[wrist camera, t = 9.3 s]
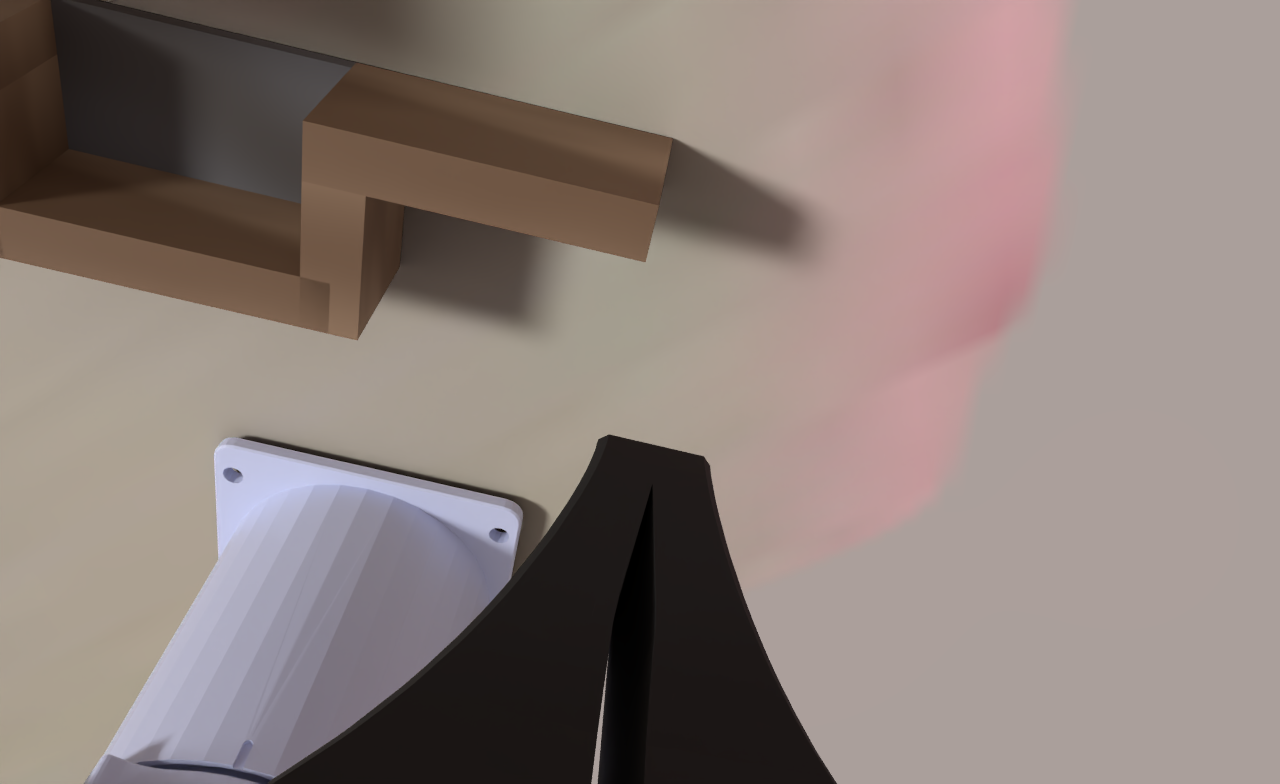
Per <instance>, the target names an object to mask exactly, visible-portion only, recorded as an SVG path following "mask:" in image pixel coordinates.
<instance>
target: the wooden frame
mask: <svg viewBox="0 0 1280 784" xmlns="http://www.w3.org/2000/svg"><path fill="white" fill-rule="evenodd" d="M672 141H673V138H668V137H664V136H660V135H656V134H652V133H648V132H643V131H639V130H635V129H631V128H627V127H623V126H618V125H614V124H610V123H606V122H602V121H598V120H593V119H589V118H585V117H581V116H577V115H573V114H569V113H564V112H560V111H556V110H552V109H548V108H544V107H539V106H535V105H531V104H527V103H523V102H519V101H514V100H510V99H506V98H502V97H498V96H494V95H490V94H485V93H481V92H477V91H473V90H469V89H465V88H460V87H456V86H452V85H448V84H444V83H440V82H435V81H431V80H427V79H423V78H419V77H415V76H410V75H406V74H402V73H398V72H394V71H390V70H386V69H381V68H377V67H373V66H369V65H365V64H361V63H356V62H352V61H348V60H344V59H340V58H336V57H331V56H327V55H323V54H319V53H315V52H311V51H306V50H302V49H298V48H294V47H290V46H286V45H282V44H277V43H273V42H269V41H265V40H261V39H257V38H252V37H248V36H244V35H240V34H236V33H232V32H227V31H223V30H219V29H215V28H211V27H207V26H202V25H198V24H194V23H190V22H186V21H182V20H178V19H173V18H169V17H165V16H161V15H157V14H153V13H148V12H144V11H140V10H136V9H132V8H128V7H123V6H119V5H115V4H111V3H107V2H103V1H98V0H0V258H4V259H8V260H13V261H17V262H21V263H26V264H30V265H34V266H39V267H43V268H47V269H51V270H56V271H60V272H64V273H69V274H73V275H77V276H82V277H86V278H90V279H95V280H99V281H103V282H108V283H112V284H116V285H121V286H125V287H129V288H134V289H138V290H142V291H147V292H151V293H155V294H160V295H164V296H168V297H172V298H177V299H181V300H185V301H190V302H194V303H198V304H203V305H207V306H211V307H216V308H220V309H224V310H229V311H233V312H237V313H242V314H246V315H250V316H255V317H259V318H263V319H268V320H272V321H276V322H281V323H285V324H289V325H293V326H298V327H302V328H306V329H311V330H315V331H319V332H324V333H328V334H332V335H337V336H341V337H345V338H350V339H354V340H358V338H359V337H360V335H361V333H362V331H363V330H364V328H365V326H366V324H367V323H368V321H369V319H370V318H371V316H372V314H373V312H374V311H375V309H376V307H377V305H378V304H379V302H380V300H381V298H382V297H383V295H384V293H385V292H386V290H387V288H388V286H389V285H390V283H391V281H392V279H393V278H394V276H395V274H396V272H397V271H398V269H399V267H400V256H401V244H402V232H403V220H404V208H405V206H410V207H414V208H418V209H422V210H426V211H431V212H435V213H439V214H443V215H448V216H452V217H456V218H460V219H465V220H469V221H473V222H477V223H482V224H486V225H490V226H494V227H498V228H503V229H507V230H511V231H515V232H520V233H524V234H528V235H532V236H537V237H541V238H545V239H549V240H554V241H558V242H562V243H566V244H570V245H575V246H579V247H583V248H587V249H592V250H596V251H600V252H604V253H609V254H613V255H617V256H621V257H625V258H630V259H634V260H638V261H642V262H646V258H647V254H648V249H649V245H650V241H651V237H652V233H653V229H654V224H655V220H656V216H657V212H658V208H659V203H660V199H661V194H662V189H663V184H664V179H665V175H666V170H667V165H668V160H669V155H670V151H671V146H672Z"/></svg>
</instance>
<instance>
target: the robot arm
mask: <svg viewBox="0 0 1280 784" xmlns="http://www.w3.org/2000/svg"><path fill="white" fill-rule="evenodd" d="M214 465H215V488H216V511H217V534H218V557H219V560H218V561H217V563H216V565H215V566H214V568H213V570H212V571H211V573H210V575H209V577H208V578H207V580H206V582H205V583H204V585H203V587H202V588H201V590H200V592H199V594H198V595H197V597H196V599H195V600H194V602H193V604H192V605H191V607H190V609H189V610H188V612H187V614H186V616H185V617H184V619H183V621H182V622H181V624H180V626H179V627H178V629H177V631H176V633H175V634H174V636H173V638H172V639H171V641H170V643H169V644H168V646H167V648H166V650H165V651H164V653H163V655H162V656H161V658H160V660H159V661H158V663H157V665H156V666H155V668H154V670H153V672H152V673H151V675H150V677H149V678H148V680H147V682H146V683H145V685H144V687H143V689H142V690H141V692H140V694H139V695H138V697H137V699H136V700H135V702H134V704H133V706H132V707H131V709H130V711H129V712H128V714H127V716H126V717H125V719H124V721H123V722H122V724H121V726H120V728H119V729H118V731H117V733H116V734H115V736H114V738H113V739H112V741H111V743H110V745H109V746H108V748H107V750H106V751H105V753H104V755H103V756H102V757H101V759H100V760H99V762H98V763H97V764H96V766H95V767H94V769H93V770H92V772H91V773H90V775H89V776H88V778H87V779H86V781H85V782H84V784H591V780H592V773H593V765H594V756H595V748H596V739H597V732H598V725H599V717H600V710H601V703H602V696H603V687H604V681H605V674H606V667H607V678H606V690H605V702H604V715H603V726H602V739H601V751H600V762H599V775H598V784H837V783H836V782H835V780H834V778H833V777H832V775H831V774H830V772H829V771H828V769H827V768H826V766H825V764H824V763H823V761H822V760H821V758H820V757H819V755H818V753H817V752H816V750H815V748H814V746H813V745H812V743H811V741H810V739H809V737H808V736H807V734H806V732H805V730H804V728H803V726H802V725H801V723H800V721H799V719H798V718H797V716H796V714H795V712H794V710H793V708H792V706H791V704H790V702H789V700H788V698H787V696H786V694H785V692H784V690H783V688H782V686H781V684H780V682H779V680H778V678H777V676H776V674H775V672H774V669H773V667H772V665H771V663H770V660H769V658H768V656H767V654H766V651H765V649H764V647H763V644H762V642H761V640H760V637H759V635H758V632H757V630H756V627H755V625H754V622H753V620H752V618H751V615H750V612H749V610H748V607H747V604H746V601H745V599H744V596H743V593H742V590H741V587H740V584H739V581H738V578H737V575H736V572H735V569H734V566H733V563H732V560H731V557H730V554H729V550H728V547H727V543H726V540H725V536H724V533H723V529H722V525H721V521H720V517H719V513H718V509H717V505H716V500H715V495H714V490H713V485H712V479H711V472H710V465H709V464H708V462H707V461H706V459H705V458H704V456H699V455H695V454H691V453H687V452H682V451H678V450H674V449H669V448H665V447H661V446H656V445H652V444H648V443H643V442H639V441H635V440H630V439H626V438H622V437H617V436H613V435H607V436H605V437H603V438H600V439H598V442H597V446H596V449H595V452H594V455H593V457H592V459H591V461H590V464H589V466H588V468H587V470H586V472H585V474H584V476H583V477H582V479H581V481H580V483H579V485H578V486H577V488H576V490H575V491H574V493H573V495H572V496H571V498H570V500H569V501H568V503H567V504H566V506H565V507H564V509H563V510H562V512H561V513H560V515H559V516H558V517H557V519H556V520H555V522H554V523H553V525H552V526H551V528H550V529H549V531H548V532H547V533H546V535H545V536H544V538H543V539H542V540H541V542H540V543H539V544H538V546H537V547H536V548H535V550H534V551H533V552H532V553H531V555H530V556H529V557H528V558H527V559H526V561H525V562H524V563H523V564H522V566H521V567H520V568H519V569H518V571H517V572H516V573H515V574H514V576H513V577H512V572H513V566H514V561H515V556H516V551H517V546H518V541H519V536H520V530H521V525H522V520H523V511H522V510H521V508H520V506H519V505H517V504H516V503H515V502H513V501H511V500H508V499H505V498H500V497H496V496H491V495H487V494H483V493H478V492H474V491H469V490H465V489H461V488H456V487H452V486H447V485H443V484H439V483H434V482H430V481H425V480H421V479H417V478H412V477H408V476H404V475H399V474H395V473H390V472H386V471H382V470H377V469H373V468H368V467H364V466H360V465H355V464H351V463H346V462H342V461H338V460H333V459H329V458H324V457H320V456H316V455H311V454H307V453H302V452H298V451H294V450H289V449H285V448H280V447H276V446H272V445H267V444H263V443H258V442H254V441H250V440H245V439H241V438H234V437H230V438H226V439H224V440H223V441H222V442H221V443H220V444H219V445H218V447H217V448H216V450H215V454H214ZM232 468H235V469H237V470H239V471H240V472H241V473H238V472H236V471H234V470H233V469H232ZM495 528H501V529H503V530H505V531H506V532H499V531H497V530H495ZM511 577H512V578H511ZM608 654H609V655H608ZM607 660H608V666H607Z"/></svg>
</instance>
